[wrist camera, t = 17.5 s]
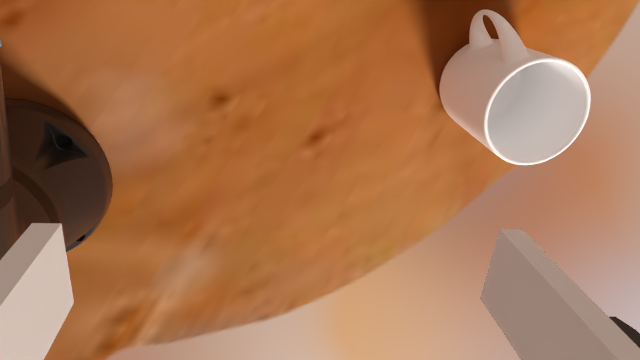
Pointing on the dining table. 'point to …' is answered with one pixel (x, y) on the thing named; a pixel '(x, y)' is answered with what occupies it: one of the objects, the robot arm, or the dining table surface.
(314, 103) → the dining table surface
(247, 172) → the dining table surface
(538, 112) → the mug
